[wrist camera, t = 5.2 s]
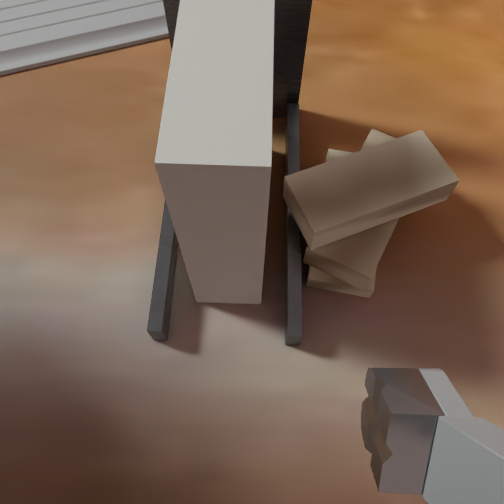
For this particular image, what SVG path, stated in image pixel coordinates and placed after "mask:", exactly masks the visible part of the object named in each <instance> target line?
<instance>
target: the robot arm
mask: <svg viewBox="0 0 504 504" xmlns="http://www.w3.org/2000/svg"><path fill="white" fill-rule="evenodd" d="M365 387H366V390H367V393H368V397H367V398H366V399H365V400H364V401H363V402H362V411H361V430H362V436H363V441H364V445H365V448H366V449H367V450H368V451H369V452H370V453H372V457H371V464H370V465H371V469H372V472H373V475H374V479H375V482H376V485H377V489H378V492H388V493H403V494H417V495H423V498H424V499H425V500H426V501H427V502H428V503H429V504H504V430H502V429H501V428H499V427H497V426H495V425H494V424H492V423H490V422H489V421H487V420H485V419H484V418H478V417H474V416H473V414H472V413H471V411H470V410H469V408H468V407H467V405H466V404H465V402H464V401H463V399H462V398H461V396H460V395H459V393H458V392H457V391H456V389H455V388H454V386H453V385H452V383H451V382H450V380H449V379H448V377H447V376H446V374H445V373H444V371H443V370H441V369H439V368H368V370H367V373H366V379H365Z"/></svg>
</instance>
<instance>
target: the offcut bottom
mask: <svg viewBox="0 0 504 504" xmlns="http://www.w3.org/2000/svg"><path fill="white" fill-rule="evenodd" d="M349 154H352V152H346V151H340V150H334V149H328V153H327V157H326V161H325V163H326V162H329V161H331V160H334V159H337V158H340V157H343V156H346V155H349ZM375 279H376V269H375V272H374V274H373V276H372V278H371V280H370V281H369V283H368V285H367V286H366V288H365V290H364V291H362V290H360V289H358V288H355V287H353V286H351V285H349V284H347V283H345V282H343V281H341V280H339V279H337V278H335V277H333V276H331V275H328V274H326V273H324V272H322V271H320V270H318V269H316V268H314V267H312V266H310V265H309V269H308V275H307V282H306V286H308V287H313V288H318V289H324V290H329V291H334V292H340V293H345V294H351V295H356V296H361V297H367V298H370V297H371V295H372V294H373V292H374V290H375Z"/></svg>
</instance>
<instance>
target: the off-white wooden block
mask: <svg viewBox="0 0 504 504" xmlns="http://www.w3.org/2000/svg"><path fill="white" fill-rule="evenodd" d="M274 2H275V0H180V4H179V10H178V16H177V23H176V29H175V36H174V42H173V48H172V55H171V61H170V67H169V74H168V80H167V86H166V93H165V99H164V105H163V112H162V118H161V125H160V131H159V137H158V144H157V150H156V156H155V166H156V170H157V173H158V176H159V180H160V183H161V186H162V190H163V193H164V196H165V200H166V203H167V206H168V210H169V213H170V216H171V220H172V223H173V226H174V230H175V233H176V236H177V240H178V243H179V246H180V250H181V253H182V256H183V260H184V263H185V266H186V270H187V273H188V276H189V280H190V283H191V286H192V290H193V293H194V296H195V300H196V302H209V303H237V304H261V298H262V284H263V271H264V258H265V245H266V232H267V219H268V206H269V192H270V179H271V164H272V110H273V56H274Z"/></svg>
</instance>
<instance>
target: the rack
mask: <svg viewBox="0 0 504 504" xmlns="http://www.w3.org/2000/svg"><path fill="white" fill-rule="evenodd" d="M179 4H180V0H163V5H164V10H165V16H166V21H167V27H168V32H169V38H170V43H171V49H172V48H173V42H174V36H175V29H176V23H177V16H178V10H179ZM311 5H312V0H275V2H274V56H273V110H272V117H282V118H286V176H287V175H290V174H293V173H296V172H299V171H300V141H299V104H298V101H299V94H300V86H301V79H302V71H303V64H304V57H305V49H306V42H307V34H308V27H309V20H310V12H311ZM178 245H179V243H178V240H177V236H176V233H175V230H174V226H173V223H172V220H171V216H170V213H169V210H168V206H167V203H166V200H165V205H164V212H163V219H162V226H161V234H160V241H159V248H158V255H157V263H156V270H155V277H154V284H153V291H152V299H151V306H150V313H149V320H148V328H147V331H148V333H149V334H150V336H151V337H152V339H153V340H159V341H167V339H168V330H169V321H170V313H171V304H172V296H173V287H174V279H175V270H176V262H177V253H178ZM301 339H302V274H301V230H300V228H299V227H298V225H297V223H296V221H295V219H294V217H293V215H292V213H291V211H290V209H289V207H288V205H287V203H286V225H285V345H299V344H300V341H301Z"/></svg>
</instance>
